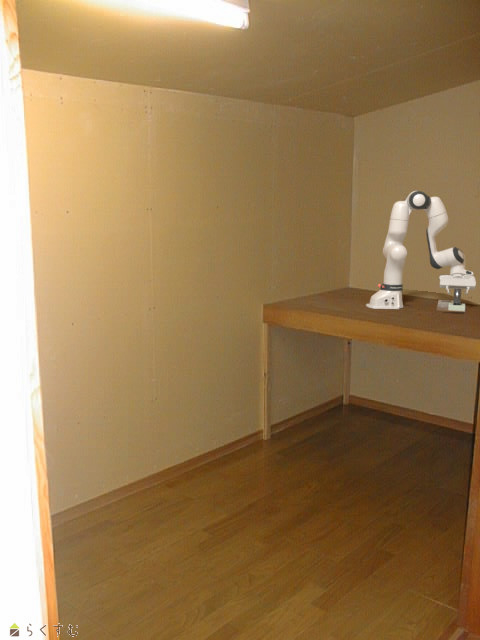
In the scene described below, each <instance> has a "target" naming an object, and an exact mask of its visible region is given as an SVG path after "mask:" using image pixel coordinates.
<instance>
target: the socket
mask: <svg viewBox="0 0 480 640" xmlns="http://www.w3.org/2000/svg"><path fill="white" fill-rule="evenodd" d="M449 303H453V300H451V299H450V300H447V299H438V301H437V304H438V307H448V306H449Z"/></svg>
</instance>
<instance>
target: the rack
mask: <svg viewBox="0 0 480 640" xmlns="http://www.w3.org/2000/svg"><path fill="white" fill-rule="evenodd" d="M465 309H466V303H460V305H453V303H449V306H448V310H453V311H452V312H461V311H465Z"/></svg>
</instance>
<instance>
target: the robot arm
mask: <svg viewBox="0 0 480 640" xmlns="http://www.w3.org/2000/svg"><path fill="white" fill-rule="evenodd" d="M419 210H423V211H424V212H425V214H426V217H427V220H428V226H427V228H426V232H425V233H426V240H427V247H428V254H429V264H430V266H431V267H432V268H434V269H436V270H440V269H443V268H445V267H448V266H449V267H450V270H449V274H441V275H439V277H438V279H439V288H440V289H445V290H446V292H447V295H450V294H451V290H452V289H453V290H454V289H462V290H464V295H465V296H466V295H467V296H468V293H469V291H470V290H475V289H476V287H477V282H476V281H477V280H476V277H475V275H474V272H473V271H470V270H468V269H467V270H466V256H465V254H464V252H463V251H462V250H461V249H460V248H458V247H456V246H455V247H454V246H453V247H449V248H446V249H444V250H440V251H438V249H437V242H436V238H437V237H436V236H437V235H438V234H439V233H440V232H441V231H442V230H444V229H445V228H446V227H447V225H448V224H449V216H448V212H447V209H446V206H445V204H444V203H443V201H442V199H441V198H440V197H439V196H431V197H430V196H429V195H428V194H426V192H424V191H422V190H421V191H420V190H414V191H412V192H410V193H409V194H407V196H406V197H405V198H404V200H398V201H395V202H394V203H393V205H392V208H391V212H390V216H389V224H388V230H387V235H386V238H385V240H384V245H383V248H382V255H383V257H384V258H385V259H386V263H385V267H384V271H383V283H382V284H381V283H378V284H377V287H378V288H380V289H379V290H378V291H377V292H375V293H374V294H373V295H371V297H370V298H369V299H370V300H369V303H366V304H365V307H367V308H369V309H374V310H400V309H402V308H404V304H403V289H404V287H403V286H404V284H403V275H404V268H405V264H406V258H407V256H408V251H407V248H406V247H405V245H404V242H405V238H406V236H407V233H408V228H409V221H410V215H411V213H412V211H419Z"/></svg>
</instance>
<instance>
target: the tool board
mask: <svg viewBox="0 0 480 640" xmlns="http://www.w3.org/2000/svg"><path fill="white" fill-rule="evenodd" d="M436 311H448V312H443V314H456V315H466V313H467V312H466V311H467V310H466V308H465V311H453V310H448V307H438V303H437V304H436Z"/></svg>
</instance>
